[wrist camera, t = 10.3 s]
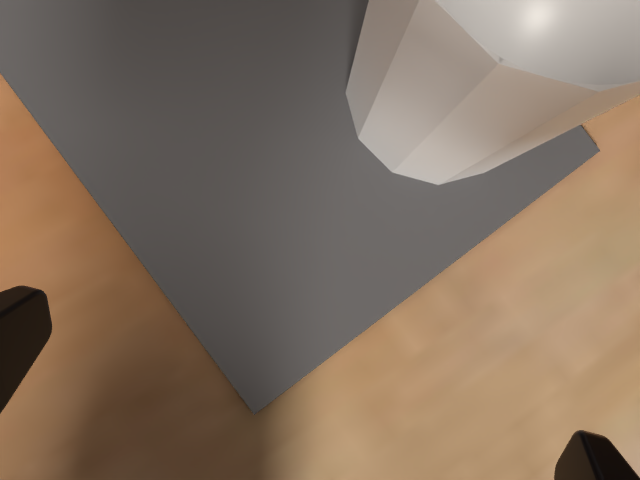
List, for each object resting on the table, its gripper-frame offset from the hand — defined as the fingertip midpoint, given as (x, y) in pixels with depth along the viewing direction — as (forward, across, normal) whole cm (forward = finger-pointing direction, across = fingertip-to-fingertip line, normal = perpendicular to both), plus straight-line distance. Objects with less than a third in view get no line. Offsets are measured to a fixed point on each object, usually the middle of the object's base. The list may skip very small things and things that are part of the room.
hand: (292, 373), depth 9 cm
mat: (+15, +4, 0) cm, 16 cm away
